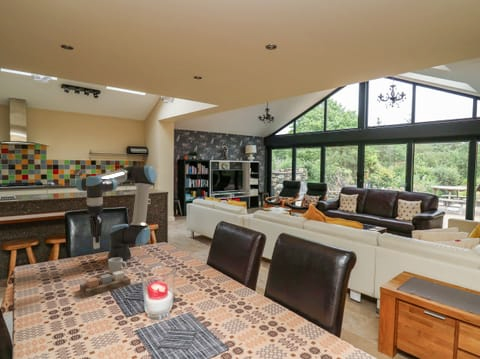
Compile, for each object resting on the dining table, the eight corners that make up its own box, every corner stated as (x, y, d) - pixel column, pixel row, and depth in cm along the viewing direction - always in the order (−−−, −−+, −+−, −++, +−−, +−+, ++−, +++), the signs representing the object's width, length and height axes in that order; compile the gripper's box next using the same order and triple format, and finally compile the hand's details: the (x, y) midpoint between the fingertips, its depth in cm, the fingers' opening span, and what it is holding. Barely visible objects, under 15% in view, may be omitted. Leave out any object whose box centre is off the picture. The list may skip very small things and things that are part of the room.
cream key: (120, 278, 157) (120, 270, 157) (124, 280, 154) (124, 272, 154) (112, 280, 154) (112, 272, 153) (115, 283, 151) (115, 274, 150)
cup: (129, 270, 173) (129, 257, 172) (122, 275, 165) (122, 262, 165) (112, 269, 174) (112, 257, 174) (105, 274, 166) (105, 261, 166)
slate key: (108, 282, 152) (108, 273, 152) (111, 284, 149) (111, 275, 149) (99, 284, 149) (99, 275, 149) (103, 286, 146) (103, 278, 146)
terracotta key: (95, 285, 147) (95, 277, 147) (98, 288, 144) (98, 279, 144) (86, 288, 144) (86, 279, 144) (89, 290, 141) (89, 281, 141)
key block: (121, 278, 161) (121, 273, 160) (130, 284, 153) (130, 278, 153) (79, 290, 145) (79, 284, 145) (87, 297, 137) (87, 291, 137)
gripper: (82, 204, 154) (84, 247, 156) (92, 207, 145) (94, 252, 147) (97, 202, 159) (98, 244, 161) (107, 205, 150) (108, 249, 152)
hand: (96, 248), depth 154 cm, fingers closed
